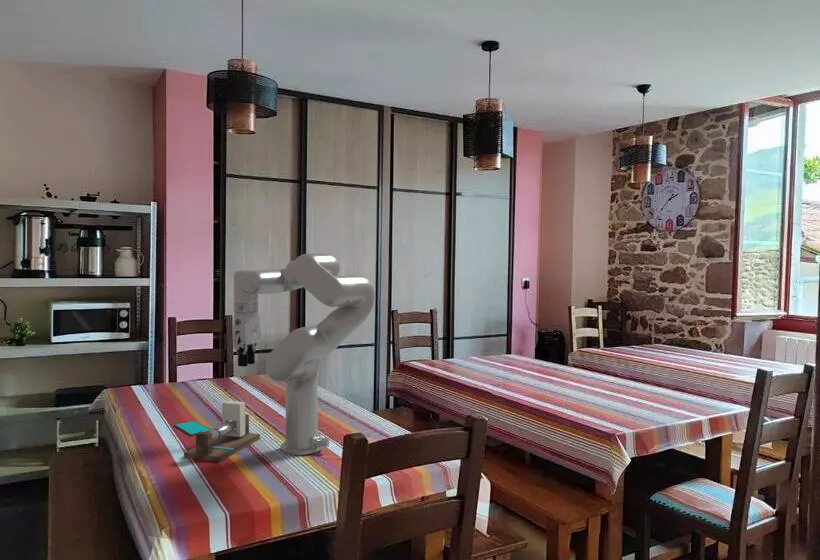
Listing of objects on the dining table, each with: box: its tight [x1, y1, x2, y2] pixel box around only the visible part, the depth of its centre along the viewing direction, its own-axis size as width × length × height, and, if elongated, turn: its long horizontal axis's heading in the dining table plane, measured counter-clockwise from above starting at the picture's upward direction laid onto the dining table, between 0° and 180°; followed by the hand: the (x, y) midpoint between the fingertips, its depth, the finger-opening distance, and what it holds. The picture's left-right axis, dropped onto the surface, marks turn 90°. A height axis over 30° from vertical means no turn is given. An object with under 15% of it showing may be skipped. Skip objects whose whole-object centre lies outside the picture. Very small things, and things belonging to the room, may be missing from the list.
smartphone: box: [174, 420, 212, 437], centre depth 199 cm, size 7×1×15 cm
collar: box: [221, 400, 246, 437], centre depth 185 cm, size 6×3×10 cm, turn 74°
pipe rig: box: [183, 413, 261, 463], centre depth 180 cm, size 12×22×8 cm, turn 164°
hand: (246, 364), depth 191 cm, fingers open, 3 cm apart
